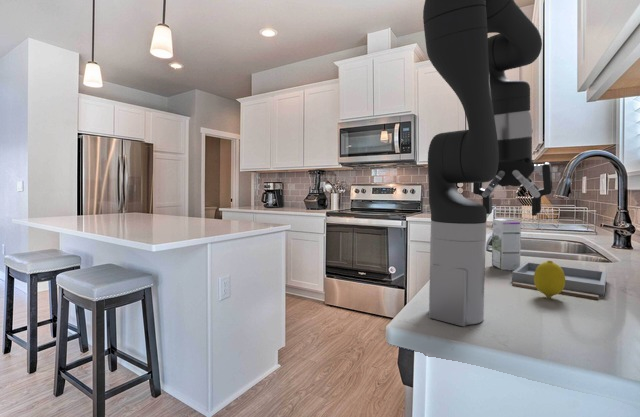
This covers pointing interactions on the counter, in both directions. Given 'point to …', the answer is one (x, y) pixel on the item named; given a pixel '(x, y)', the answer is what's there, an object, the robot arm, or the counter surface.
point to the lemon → (549, 279)
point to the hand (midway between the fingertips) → (511, 214)
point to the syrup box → (506, 243)
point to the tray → (566, 278)
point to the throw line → (560, 292)
